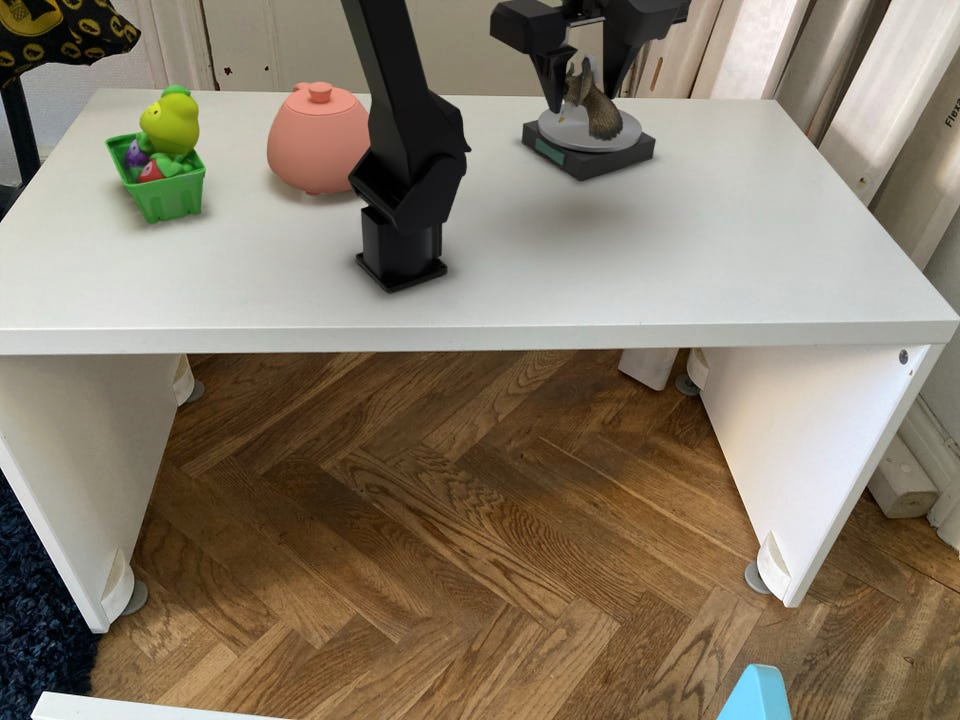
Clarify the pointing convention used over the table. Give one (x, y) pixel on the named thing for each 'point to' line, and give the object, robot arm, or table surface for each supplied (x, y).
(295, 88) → the sugar bowl
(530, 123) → the scale
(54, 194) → the table surface
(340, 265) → the table surface
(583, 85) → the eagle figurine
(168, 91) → the fruit basket
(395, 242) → the robot arm
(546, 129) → the scale pan
